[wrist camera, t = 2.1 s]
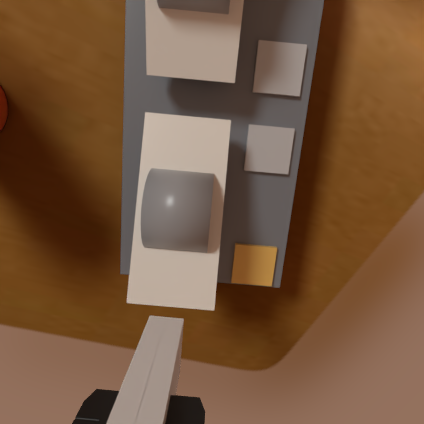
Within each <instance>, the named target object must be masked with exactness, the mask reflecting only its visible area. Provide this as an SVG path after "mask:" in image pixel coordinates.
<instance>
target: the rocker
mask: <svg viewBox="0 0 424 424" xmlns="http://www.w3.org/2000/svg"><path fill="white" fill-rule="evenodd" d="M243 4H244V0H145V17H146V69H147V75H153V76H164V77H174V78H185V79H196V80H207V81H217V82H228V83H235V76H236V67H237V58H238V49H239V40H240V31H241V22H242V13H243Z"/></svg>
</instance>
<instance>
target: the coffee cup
mask: <svg viewBox="0 0 424 424" xmlns="http://www.w3.org/2000/svg"><path fill="white" fill-rule="evenodd" d="M7 117H8V103H7V99H6V96H5V93H4V91H3V89H2V87H1V86H0V131H1V130H2V129H3V127H4V126H5V123H6V121H7Z"/></svg>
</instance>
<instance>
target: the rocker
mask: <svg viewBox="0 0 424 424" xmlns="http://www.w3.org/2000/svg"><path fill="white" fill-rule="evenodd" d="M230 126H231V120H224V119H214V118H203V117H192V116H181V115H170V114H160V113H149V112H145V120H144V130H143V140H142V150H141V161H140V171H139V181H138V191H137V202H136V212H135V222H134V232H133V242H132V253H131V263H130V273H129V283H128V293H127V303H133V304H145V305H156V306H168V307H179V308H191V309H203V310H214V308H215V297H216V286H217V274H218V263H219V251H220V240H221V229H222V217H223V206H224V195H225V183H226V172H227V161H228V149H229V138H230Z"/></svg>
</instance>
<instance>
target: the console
mask: <svg viewBox="0 0 424 424" xmlns="http://www.w3.org/2000/svg"><path fill="white" fill-rule="evenodd" d="M323 4H324V0H244V4H243V13H242V22H241V31H240V40H239V49H238V58H237V67H236V76H235V83H228V82H217V81H207V80H196V79H185V78H174V77H164V76H153V75H147V69H146V17H145V0H126V20H125V69H124V118H123V167H122V215H121V264H120V274H128V275H129V273H130V263H131V253H132V242H133V232H134V222H135V212H136V202H137V191H138V181H139V171H140V161H141V150H142V140H143V130H144V120H145V112H149V113H160V114H170V115H181V116H192V117H203V118H214V119H224V120H231V126H230V138H229V149H228V161H227V172H226V183H225V195H224V206H223V217H222V229H221V240H220V251H219V263H218V274H217V282H219V283H231V284H242V285H254V286H265V287H276V288H280V283H281V277H282V270H283V264H284V257H285V251H286V244H287V238H288V231H289V225H290V218H291V212H292V205H293V199H294V192H295V186H296V179H297V173H298V166H299V160H300V153H301V147H302V140H303V134H304V127H305V121H306V115H307V108H308V102H309V95H310V89H311V82H312V76H313V69H314V63H315V56H316V50H317V43H318V37H319V30H320V24H321V17H322V11H323Z"/></svg>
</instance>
